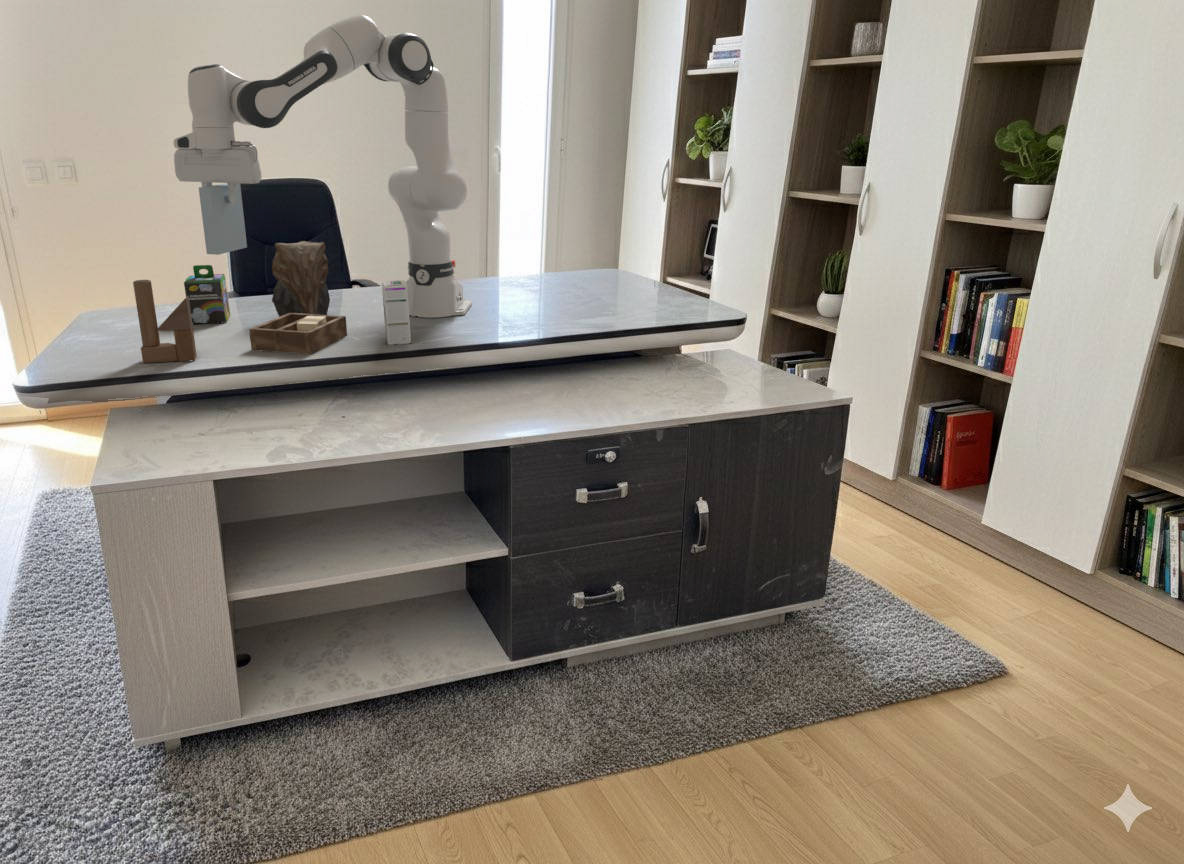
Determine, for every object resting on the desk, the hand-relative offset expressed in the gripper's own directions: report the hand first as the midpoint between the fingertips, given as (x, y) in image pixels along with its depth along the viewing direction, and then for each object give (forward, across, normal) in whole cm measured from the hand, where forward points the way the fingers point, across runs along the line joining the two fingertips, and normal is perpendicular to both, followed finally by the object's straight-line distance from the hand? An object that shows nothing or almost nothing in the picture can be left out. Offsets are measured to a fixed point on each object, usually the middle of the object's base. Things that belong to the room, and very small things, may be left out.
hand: (221, 202), depth 217 cm
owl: (+33, -5, -24) cm, 41 cm away
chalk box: (+33, +18, -16) cm, 41 cm away
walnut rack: (+32, -17, 0) cm, 37 cm away
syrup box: (+33, -39, -7) cm, 51 cm away
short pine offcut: (+29, -20, 0) cm, 35 cm away
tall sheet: (+11, 0, 0) cm, 11 cm away
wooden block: (+33, +3, +22) cm, 40 cm away
